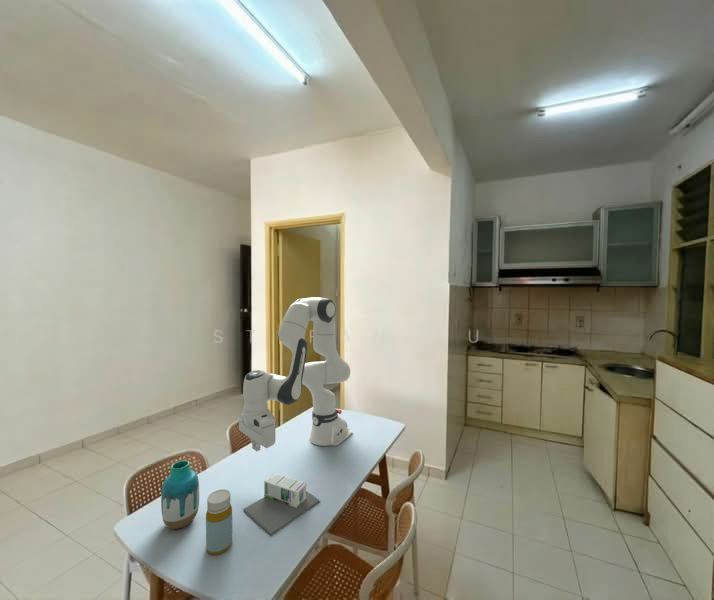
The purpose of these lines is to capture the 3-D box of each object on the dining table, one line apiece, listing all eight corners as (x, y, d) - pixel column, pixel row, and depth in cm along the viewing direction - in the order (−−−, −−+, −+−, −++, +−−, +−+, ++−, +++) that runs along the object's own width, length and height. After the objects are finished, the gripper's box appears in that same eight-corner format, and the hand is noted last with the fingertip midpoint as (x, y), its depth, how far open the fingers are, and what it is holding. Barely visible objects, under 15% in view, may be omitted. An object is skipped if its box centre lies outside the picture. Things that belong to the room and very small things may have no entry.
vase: (156, 539, 93) (155, 477, 92) (167, 514, 103) (166, 458, 102) (195, 531, 96) (194, 471, 95) (202, 508, 106) (201, 453, 105)
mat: (291, 482, 120) (291, 481, 120) (319, 501, 110) (319, 500, 110) (243, 510, 105) (243, 508, 105) (270, 535, 95) (270, 533, 95)
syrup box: (263, 480, 111) (297, 492, 105) (274, 472, 117) (307, 482, 110) (263, 496, 111) (296, 509, 105) (274, 487, 117) (306, 498, 111)
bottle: (202, 545, 91) (202, 495, 90) (226, 532, 96) (226, 485, 95) (211, 560, 86) (210, 508, 85) (236, 546, 91) (235, 496, 90)
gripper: (234, 409, 122) (235, 442, 123) (263, 425, 109) (263, 463, 109) (249, 404, 127) (249, 436, 128) (278, 419, 113) (278, 456, 114)
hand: (256, 449), depth 118 cm, fingers closed
